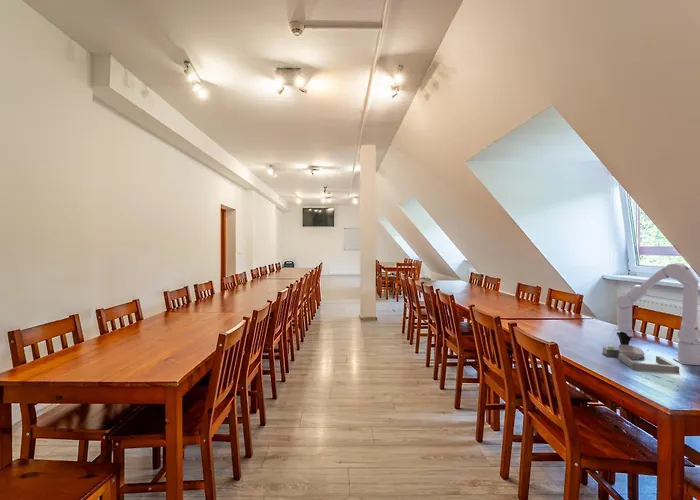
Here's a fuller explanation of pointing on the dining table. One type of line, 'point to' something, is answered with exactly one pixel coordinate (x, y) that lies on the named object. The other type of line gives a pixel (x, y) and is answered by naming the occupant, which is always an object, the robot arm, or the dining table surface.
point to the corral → (664, 367)
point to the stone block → (631, 351)
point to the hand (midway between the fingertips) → (624, 347)
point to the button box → (610, 351)
